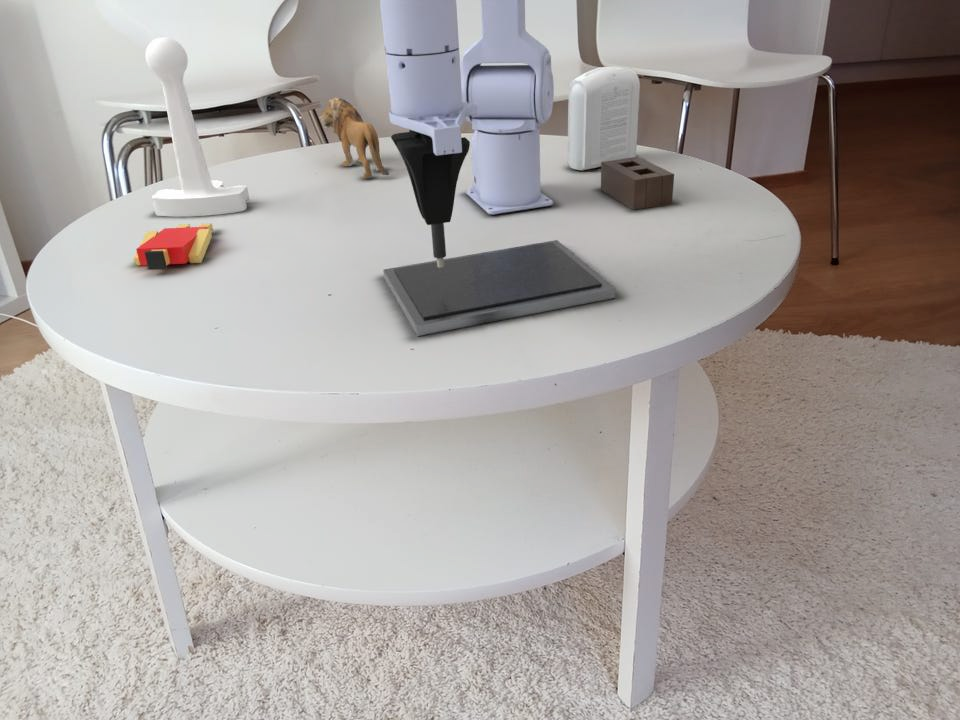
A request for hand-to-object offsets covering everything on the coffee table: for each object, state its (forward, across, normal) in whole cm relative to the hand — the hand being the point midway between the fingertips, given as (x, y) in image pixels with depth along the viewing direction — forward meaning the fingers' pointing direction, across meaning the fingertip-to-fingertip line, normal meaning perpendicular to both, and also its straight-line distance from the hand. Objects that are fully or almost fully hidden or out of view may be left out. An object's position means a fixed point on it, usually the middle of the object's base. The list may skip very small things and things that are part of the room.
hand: (436, 219), depth 66 cm
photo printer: (+8, +35, -30) cm, 47 cm away
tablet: (+7, 0, -5) cm, 9 cm away
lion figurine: (+8, +47, +2) cm, 48 cm away
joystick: (+8, +38, +22) cm, 45 cm away
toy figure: (+8, +22, +24) cm, 33 cm away
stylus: (+4, 0, 0) cm, 4 cm away
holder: (+7, +20, -28) cm, 35 cm away
